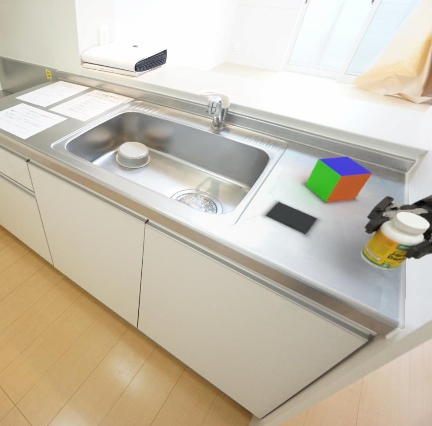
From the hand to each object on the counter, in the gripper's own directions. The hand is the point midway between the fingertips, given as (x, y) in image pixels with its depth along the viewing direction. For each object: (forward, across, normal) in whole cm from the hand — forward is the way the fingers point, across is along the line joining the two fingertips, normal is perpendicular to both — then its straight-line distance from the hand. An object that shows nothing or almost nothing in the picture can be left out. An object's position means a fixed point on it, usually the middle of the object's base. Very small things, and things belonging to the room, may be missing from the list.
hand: (389, 240), depth 45 cm
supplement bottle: (-3, 0, +6) cm, 7 cm away
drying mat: (-6, -18, +12) cm, 22 cm away
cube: (-23, -22, +12) cm, 34 cm away
